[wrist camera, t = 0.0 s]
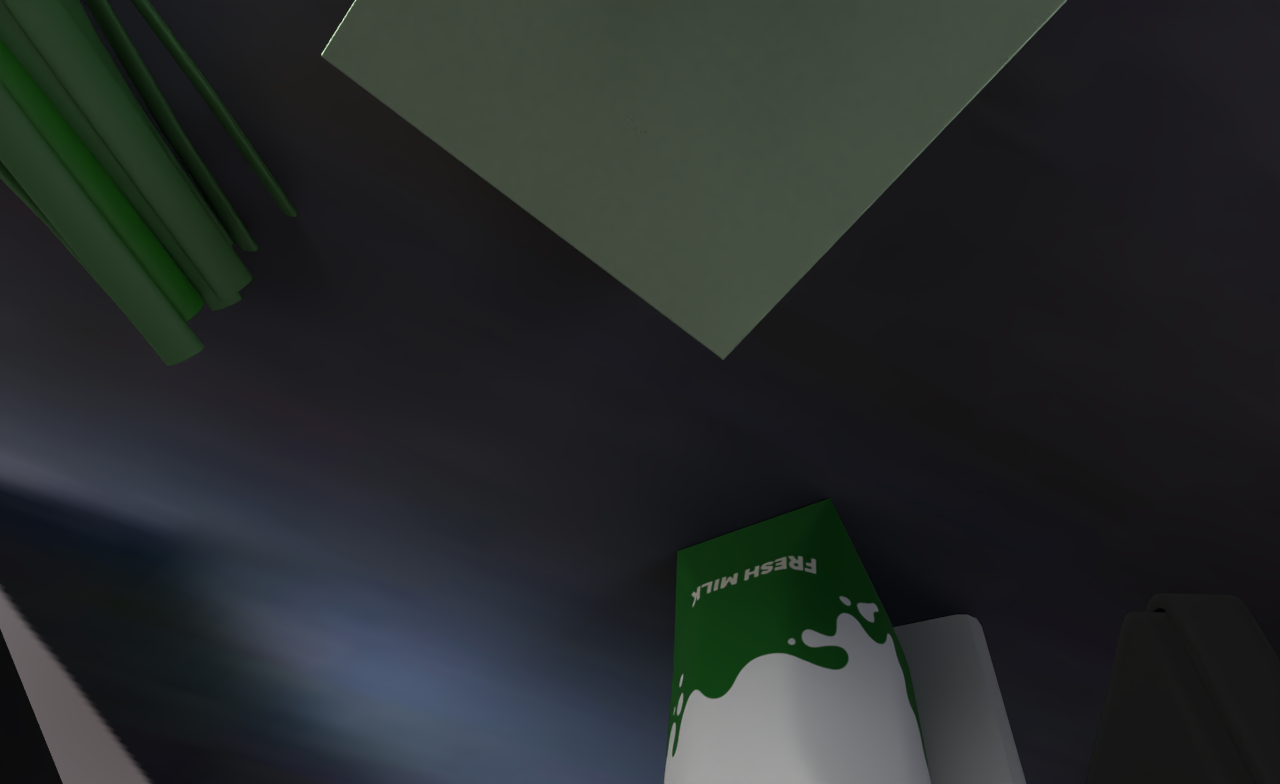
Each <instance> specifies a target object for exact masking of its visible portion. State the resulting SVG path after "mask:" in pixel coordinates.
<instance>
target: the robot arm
mask: <svg viewBox="0 0 1280 784" xmlns="http://www.w3.org/2000/svg"><path fill="white" fill-rule="evenodd" d="M0 784H63V783H62V781H61V778H60V776H59V773H58V771H57V768H56V766H55V763H54V761H53V759H52V756H51V753H50V751H49V748H48V746H47V744H46V741H45V739H44V736H43V734H42V731H41V729H40V726H39V724H38V721H37V719H36V716H35V714H34V711H33V709H32V707H31V704H30V702H29V699H28V696H27V695H26V692H25V689H24V687H23V684H22V682H21V679H20V677H19V674H18V672H17V669H16V667H15V664H14V662H13V659H12V657H11V655H10V652H9V649H8V647H7V645H6V642H5V640H4V637H3V635H2V632H1V630H0ZM1086 784H1280V659H1279V658H1278V656H1277V655H1276V653H1275V651H1274V650H1273V648H1272V646H1271V645H1270V643H1269V642H1268V640H1267V638H1266V637H1265V635H1264V633H1263V632H1262V630H1261V628H1260V627H1259V625H1258V624H1257V622H1256V620H1255V619H1254V617H1253V615H1252V614H1251V612H1250V610H1249V609H1248V607H1247V606H1246V605H1245V604H1244V603H1243V601H1242V600H1241V599H1240V598H1238V597H1236V596H1234V595H1211V594H1169V593H1159V594H1156V595H1154V596H1153V597H1152V598H1151V599H1150V601H1149V602H1148V605H1147V608H1146V611H1145V612H1129V613H1127V615H1126V616H1125V617H1124V620H1123V623H1122V626H1121V630H1120V635H1119V639H1118V643H1117V648H1116V652H1115V657H1114V661H1113V666H1112V670H1111V674H1110V679H1109V683H1108V688H1107V692H1106V697H1105V701H1104V705H1103V710H1102V714H1101V719H1100V723H1099V727H1098V732H1097V736H1096V741H1095V745H1094V750H1093V754H1092V758H1091V763H1090V767H1089V772H1088V776H1087V781H1086Z"/></svg>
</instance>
